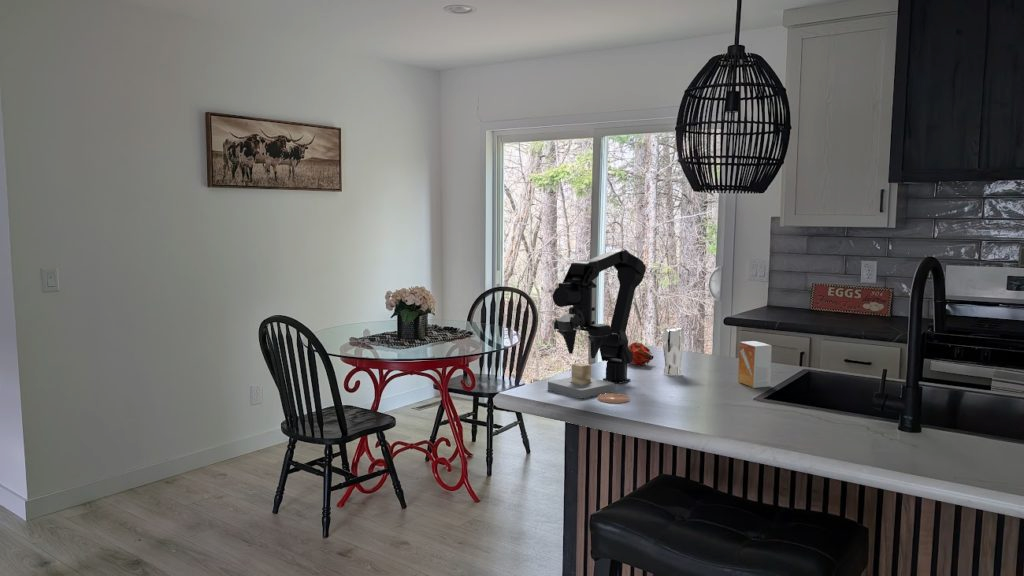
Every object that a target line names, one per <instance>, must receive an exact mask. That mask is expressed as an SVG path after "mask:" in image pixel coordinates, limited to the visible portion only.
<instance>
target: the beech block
mask: <svg viewBox="0 0 1024 576" xmlns="http://www.w3.org/2000/svg"><path fill="white" fill-rule="evenodd" d="M591 375H592V365H591V364H589V363H585V362H578V363H572V364H571V377H572V383H574V384H578V385H585V384H590V383H591V378H592V376H591Z"/></svg>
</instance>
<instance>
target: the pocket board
mask: <svg viewBox="0 0 1024 576" xmlns="http://www.w3.org/2000/svg"><path fill="white" fill-rule="evenodd" d="M615 384H616V383H613V382H608V381H604V380H603V379H599V378H594V377H591V383H590V384H585V385H578V384H574V383H572V376H570V377H564V378H561V379H553V380H550V381H549V380H548V382H547V390H548V391H551V392H555V393H558V394H561V395H565V396H567V397H572V398H576V399H579V398H581V399H580V400H583V399H582V398H584V399H587V398H586V397H588V398H591V397H590V396H593V397H596V396H595V395H597V396H599V395H600V394H605V393H606V394H607V393H615Z"/></svg>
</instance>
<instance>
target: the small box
mask: <svg viewBox="0 0 1024 576" xmlns="http://www.w3.org/2000/svg"><path fill="white" fill-rule="evenodd" d="M772 348H773V347H772V345H771V344H767V343H765V342H761V341H756V340H751V341H747V340H746V341H739V349H738V350H739V351H738V353H739V354H738V373H737V374H738V375H737V381H738V383H740V384H743V385H746V386H748V387H750V388H753V389H756V388H768V387H771V379H772V378H771V374H772V373H771V372H772V351H773V350H772Z"/></svg>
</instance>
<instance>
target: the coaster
mask: <svg viewBox="0 0 1024 576" xmlns="http://www.w3.org/2000/svg"><path fill="white" fill-rule="evenodd" d="M597 400H598V401H599V400H600V401H599V402H602V401H603V402H602V403H607V404H625V403H628V402H629V401H630V396H628V395H626V394H622V393H615V392H610V393H606V394H601V395H597Z"/></svg>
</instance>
